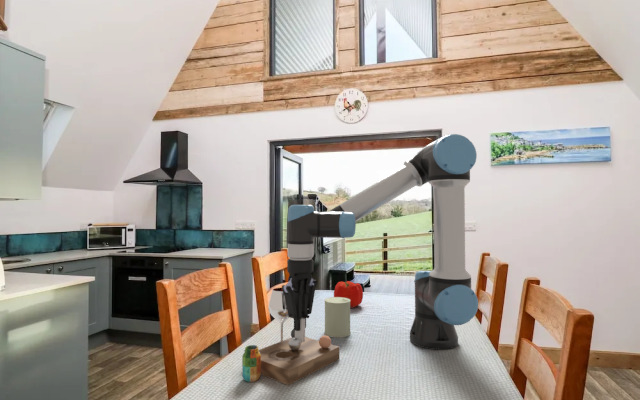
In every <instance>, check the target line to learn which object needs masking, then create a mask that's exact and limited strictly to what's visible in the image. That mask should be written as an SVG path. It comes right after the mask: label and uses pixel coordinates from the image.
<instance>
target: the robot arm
mask: <svg viewBox="0 0 640 400" xmlns="http://www.w3.org/2000/svg"><path fill="white" fill-rule="evenodd" d="M476 161H477V150H476V147H475V145H474V143H473V142H472V141H471V140H470V139H469V138H468V137H466V136H464V135H463V134H457V133H453V134H452V133H451V134H447V135H444V136H440V137H439V138H438V139H436V140H434V141H432V142H430V143H429V144H426V145H425V146H424V147H423V148H422V149H420V150H419V151H418V152H417V153H416V154H414V155H413V156H411V157H410V158H409V159H407V160H406V161H404V162H403V166H401V167H399V168H398V169H396V170H395V171H393V172H391V173H390V174H388V175H386V176H384V177H383V178H381V179H380V180H378V181H376V182H374V183H373V184H371V185H369V186H368V187H366V188H365V189H363V190H362V191H360V192H358V193H357V194H355V195H353V196H352V197H350V198H348V199H347V200H345V201H343V202H342V203H340V204H339V205H337V206H335V207H333V208H332V209H330V210H328V211H315V207H314V206H313V204H291V205H290V206H289V207H288V208H287V257H288V259H287V263H286V266H287V267H286V268H287V269H286V270H287V273H288V279H287V282H286V284H285V285H284V284H282V285H281V288H282V290H283V292H284V295H285V300H286V306H287V312H288V317H289V318H290V319H293V329H294V330H295V337H297V338H299V339H300V341H301V343H302V342H305V337H306V328H307V319H309V318H310V315H311V314H312V311H313V305H314V300H315V299H314V298H315V292H316V287H317V285H318V282H319V281H318V280H316V279H314V278H313V276H312V273H313V272H314V260H313V257H314V254H315V253H314V251H315V250H314V249H315V248H314V238H319V239H320V238H323V239H324V238H326V239H327V238H328V239H329V238H330V239H332V238H333V239H334V238H336V239H340V238H341V239H346V238H347V239H348V238H349V239H350V238H354V236H355V234H356V225H357V224H356V222H358V221H359V220H362V219H363V218H364V217H366V216H368V215H369V214H371V213H373V212H375V211H376V210H378V209H379V208H381V207H383V206H384V205H386V204H388V203H390V202H391V201H393V200H394V199H396V198H397V197H399V196H401V195H403V194H404V193H406V192H408V191H409V190H412V189H413V188H415V187H422V186H423V185H425V184H427V183H429V185H431V186H432V187H433V233H434V234H433V237H434V239H433V243H434V245H433V247H434V248H433V252H434V253H433V255H434V264H433V265H434V267H433V269H432V270H418V271H416V273H415V274H414V280H413V282H414V317H413V321H412V324H411V326H410V327H411V328H410V331H409V341H410V343H412V344H413V345H416V346H417V347H421V348H425V349H430V350H431V349H432V350H450V349H454V348H456V347H457V346H458V345H459V336H458V333H457V330H456V326H461V325H465V324H467V323H469V322H470V321H471V320H472V319H473V318H474V317H475V316H476V314H477V312H478V309H479V299H478V296H477V295H476V293H475V291H474V290H473V289H472V276H471V274H470V273H469V272H468V271H467V269H466V219H465V218H466V214H465V213H466V208H465V205H466V203H465V201H466V200H465V196H466V195H465V188H466V186H467V185H468V184H469V183H470V182H471V170H472V168H473V167H474V166H475V164H476Z"/></svg>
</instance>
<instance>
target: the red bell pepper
mask: <svg viewBox="0 0 640 400" xmlns="http://www.w3.org/2000/svg"><path fill="white" fill-rule="evenodd" d="M362 287H363V286H362V285H361V283H354V282H352V281H350V280H347V281H338V282H337V283H336V285H335V287H334V290H333V297H343V298H348V299H350V300H351V301H350V309H351V308H356V307H357V306H359V305H361V304H362V302H363V297H364V293H363V291H364V290H363V288H362Z"/></svg>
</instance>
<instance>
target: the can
mask: <svg viewBox="0 0 640 400" xmlns="http://www.w3.org/2000/svg"><path fill="white" fill-rule="evenodd" d="M350 301H351V300H350V299H348V298H343V297H334V296H331V297H327V298H325V299H324V332H323V333H324V335H326V336H329V337H331V338H338V339H339V338H346V337H349V336H350V335H351V308H350Z"/></svg>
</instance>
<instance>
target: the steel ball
mask: <svg viewBox="0 0 640 400" xmlns="http://www.w3.org/2000/svg"><path fill="white" fill-rule="evenodd" d="M290 338H291V339H290V340H289V348H290V349H291V350H294V351H296V350H298V349H299V348H300V346H301V341H300V339H299V338H297V337H293V338H292V337H290Z"/></svg>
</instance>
